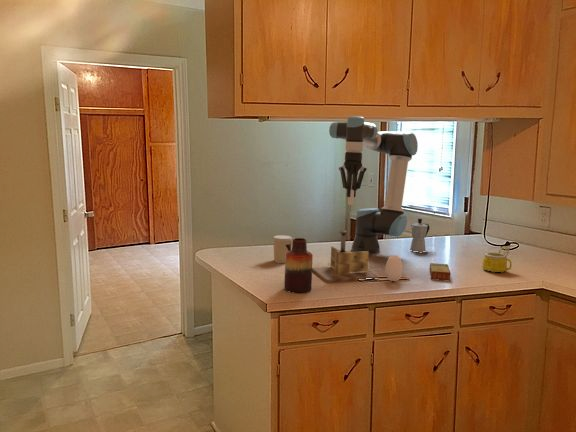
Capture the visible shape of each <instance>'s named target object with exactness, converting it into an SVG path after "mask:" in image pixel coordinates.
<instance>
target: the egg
mask: <svg viewBox="0 0 576 432" xmlns="http://www.w3.org/2000/svg"><path fill="white" fill-rule="evenodd" d="M384 269H385V270H384V271H385V276H386V277H387V279H388V281H390V282H392V281H396V282H398V281H399V280H400V279H401V278H402V276H403V274H404V264H403V260H402V259H401V257H400V256H399V255H397V254H393V255H391V256H390V257H389V258H388V259H387V261H386V264H385V268H384Z"/></svg>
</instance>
